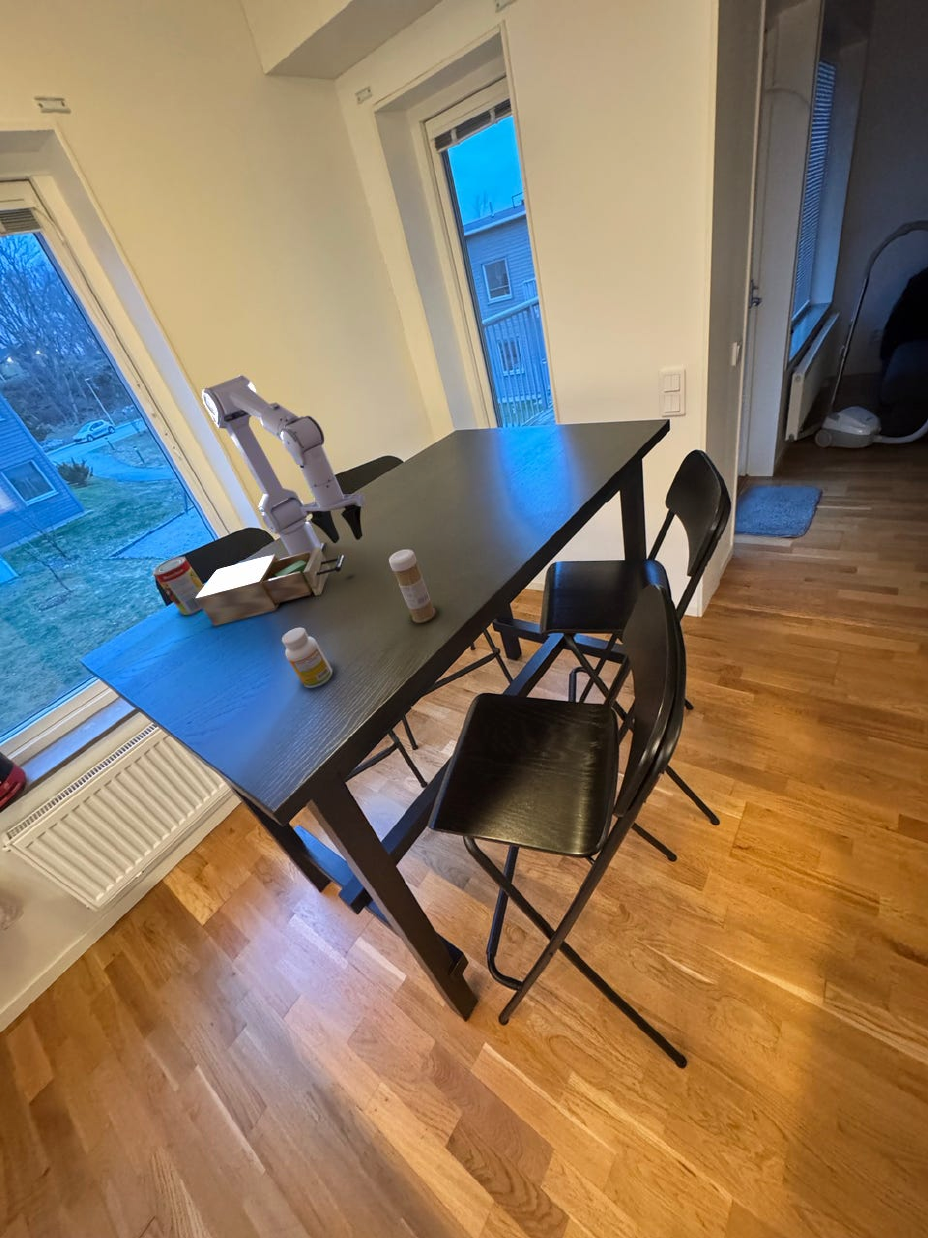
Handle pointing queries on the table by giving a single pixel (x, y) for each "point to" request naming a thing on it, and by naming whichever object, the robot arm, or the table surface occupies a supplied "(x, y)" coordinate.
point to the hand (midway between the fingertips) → (348, 539)
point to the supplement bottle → (306, 658)
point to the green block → (294, 569)
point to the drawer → (299, 576)
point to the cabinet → (237, 592)
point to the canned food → (180, 584)
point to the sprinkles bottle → (412, 585)
